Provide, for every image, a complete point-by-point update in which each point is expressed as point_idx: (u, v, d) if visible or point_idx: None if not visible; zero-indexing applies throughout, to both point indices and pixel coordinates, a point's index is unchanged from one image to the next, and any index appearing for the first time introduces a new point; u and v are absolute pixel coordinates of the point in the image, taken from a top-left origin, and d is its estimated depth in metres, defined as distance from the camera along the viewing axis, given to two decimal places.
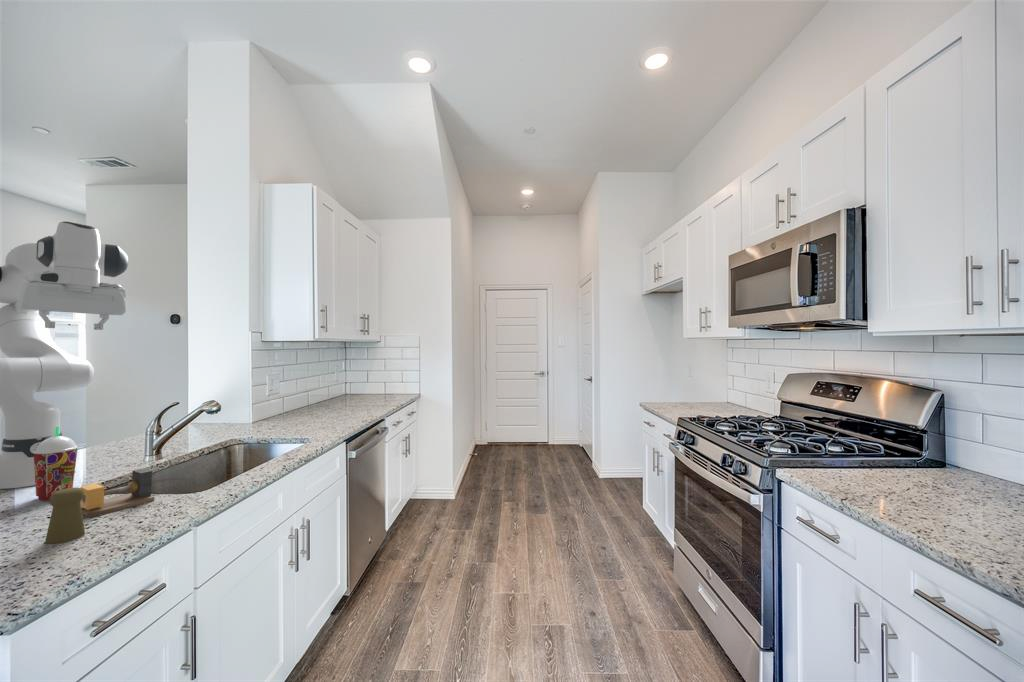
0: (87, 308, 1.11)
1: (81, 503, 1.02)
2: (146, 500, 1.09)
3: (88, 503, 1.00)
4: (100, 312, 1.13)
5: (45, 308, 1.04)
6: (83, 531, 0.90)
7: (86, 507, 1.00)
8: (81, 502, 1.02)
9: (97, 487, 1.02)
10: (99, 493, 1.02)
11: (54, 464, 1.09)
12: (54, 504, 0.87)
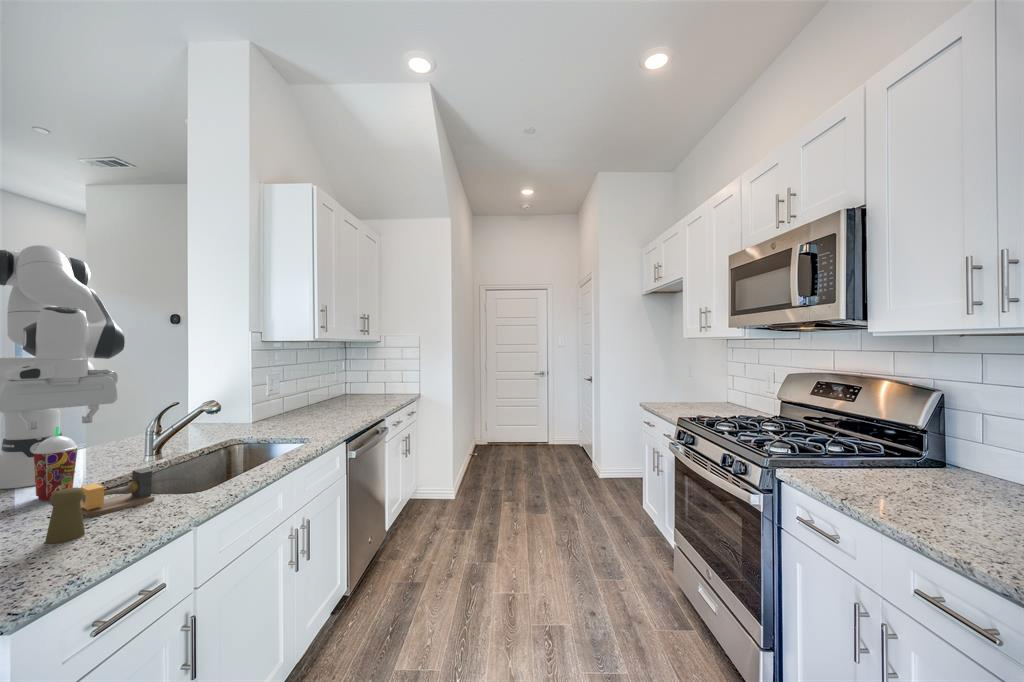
0: (74, 402, 0.99)
1: (81, 503, 1.02)
2: (146, 500, 1.09)
3: (88, 503, 1.00)
4: (89, 404, 1.02)
5: (25, 408, 0.92)
6: (83, 531, 0.90)
7: (86, 507, 1.00)
8: (81, 502, 1.02)
9: (97, 487, 1.02)
10: (99, 493, 1.02)
11: (54, 464, 1.09)
12: (54, 504, 0.87)
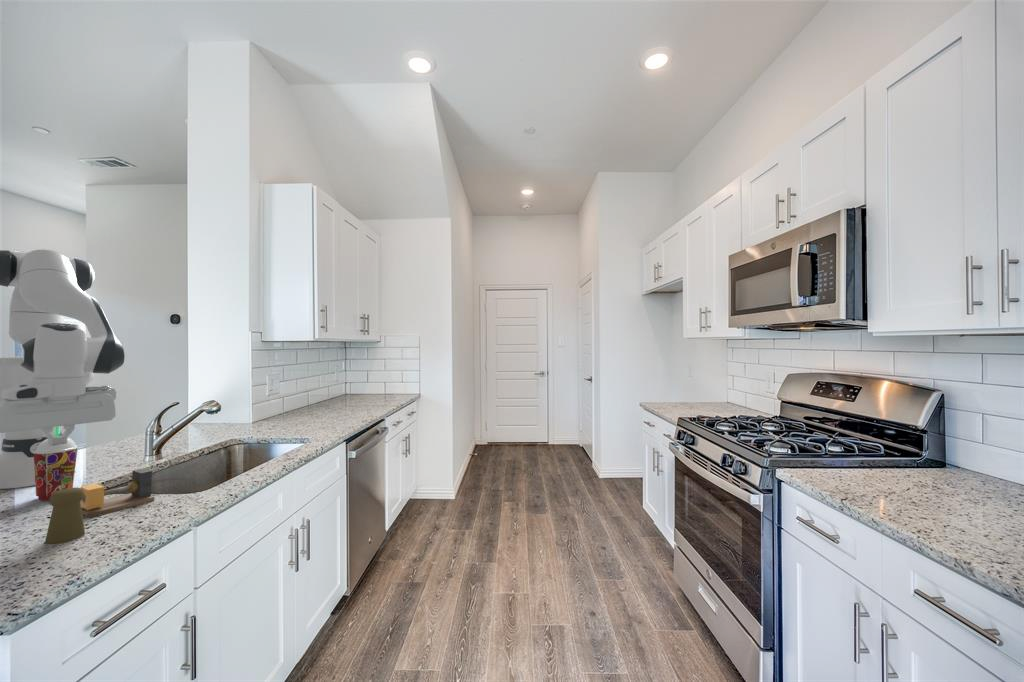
0: (71, 420, 0.98)
1: (81, 503, 1.02)
2: (146, 500, 1.09)
3: (88, 503, 1.00)
4: (86, 421, 1.00)
5: (22, 428, 0.91)
6: (83, 531, 0.90)
7: (86, 507, 1.00)
8: (81, 502, 1.02)
9: (97, 487, 1.02)
10: (99, 493, 1.02)
11: (54, 464, 1.09)
12: (54, 504, 0.87)
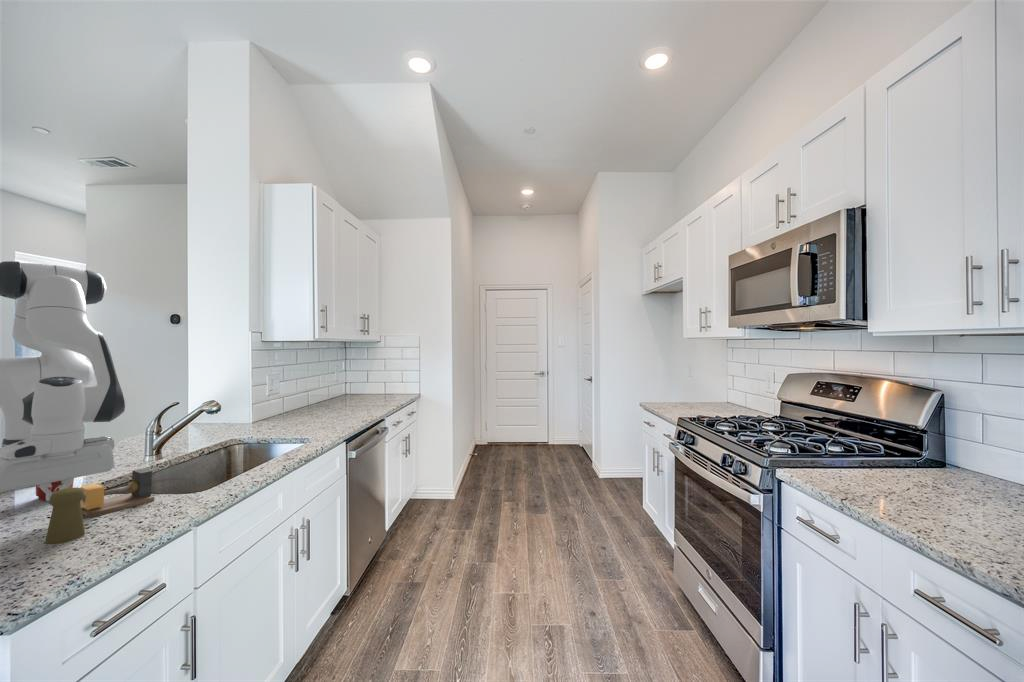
0: (70, 474, 0.98)
1: (81, 503, 1.02)
2: (146, 500, 1.09)
3: (88, 503, 1.00)
4: (85, 474, 1.00)
5: (20, 486, 0.91)
6: (83, 531, 0.90)
7: (86, 507, 1.00)
8: (81, 502, 1.02)
9: (97, 487, 1.02)
10: (99, 493, 1.02)
11: None
12: (54, 504, 0.87)
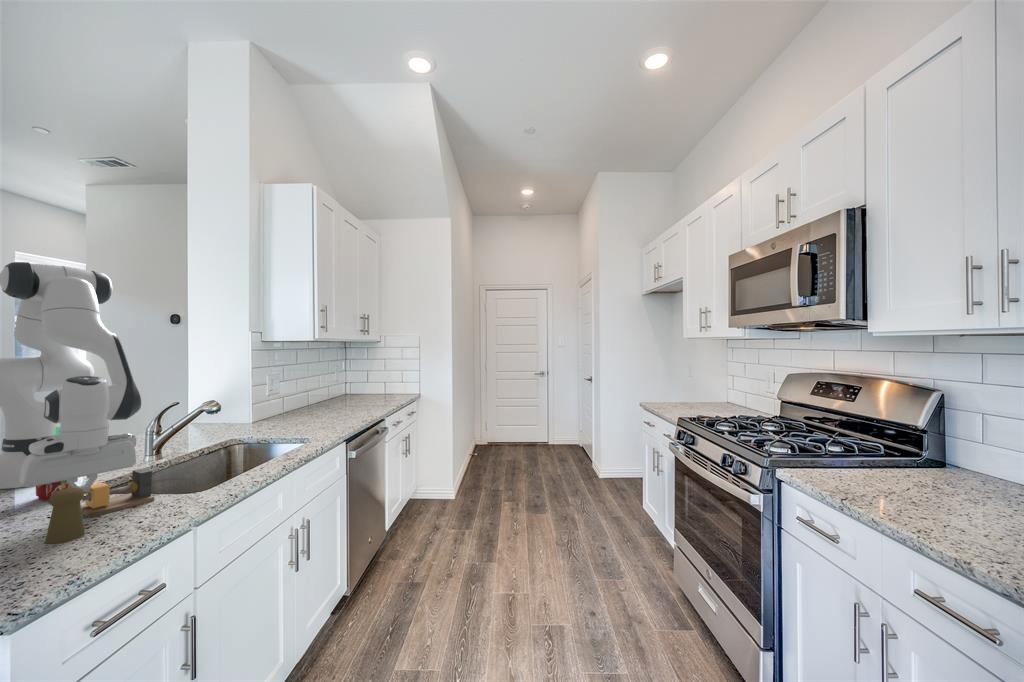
0: (95, 469, 1.02)
1: (87, 502, 1.03)
2: (146, 500, 1.09)
3: (94, 502, 1.01)
4: (109, 470, 1.04)
5: (49, 481, 0.95)
6: (83, 531, 0.90)
7: (92, 506, 1.01)
8: (87, 501, 1.03)
9: (103, 486, 1.03)
10: (104, 492, 1.03)
11: None
12: (54, 504, 0.87)
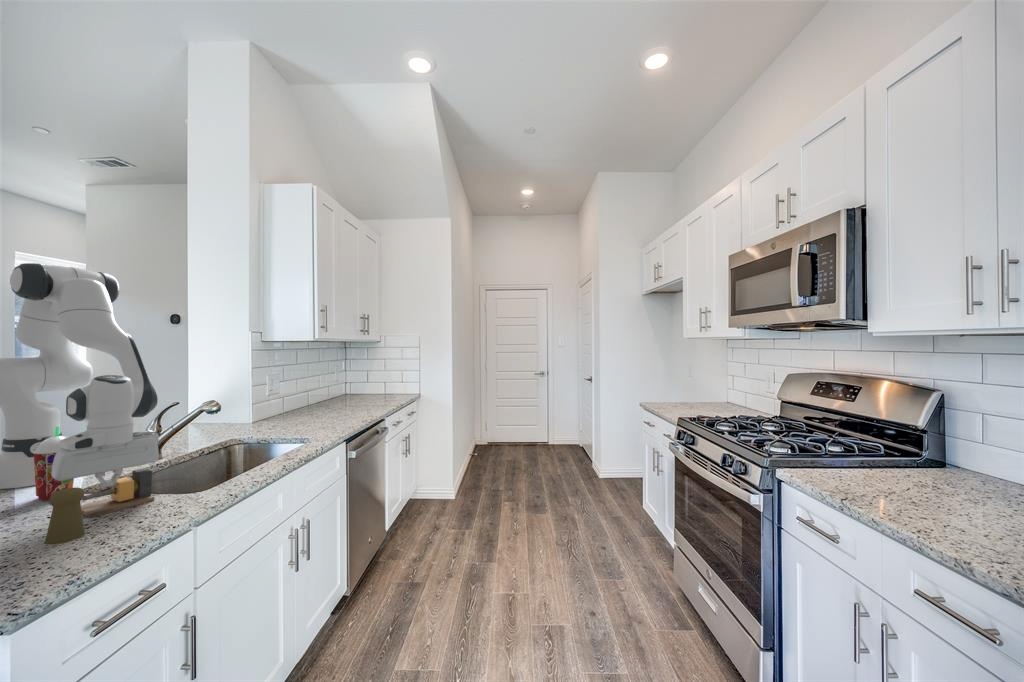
0: (121, 464, 1.06)
1: (112, 495, 1.07)
2: (146, 500, 1.09)
3: (119, 495, 1.06)
4: (133, 465, 1.09)
5: (79, 475, 0.99)
6: (83, 531, 0.90)
7: (117, 499, 1.06)
8: (112, 495, 1.07)
9: (127, 480, 1.08)
10: (129, 486, 1.08)
11: None
12: (54, 504, 0.87)
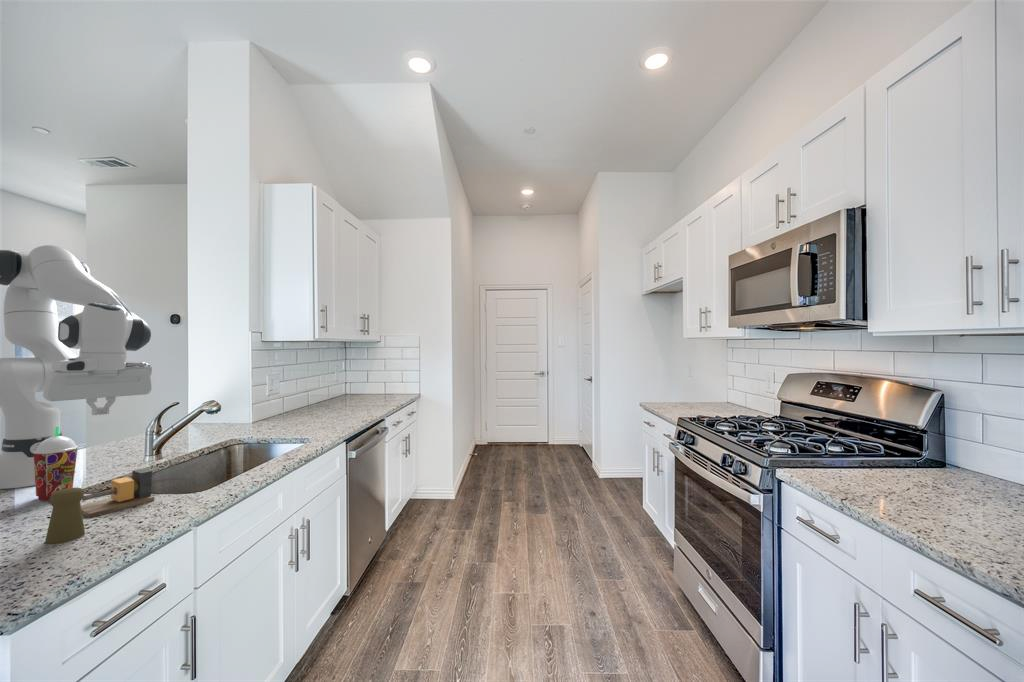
0: (113, 392, 1.06)
1: (112, 495, 1.07)
2: (146, 500, 1.09)
3: (119, 495, 1.06)
4: (126, 394, 1.09)
5: (71, 398, 0.99)
6: (83, 531, 0.90)
7: (117, 499, 1.06)
8: (112, 495, 1.07)
9: (127, 480, 1.08)
10: (129, 486, 1.08)
11: (54, 464, 1.09)
12: (54, 504, 0.87)
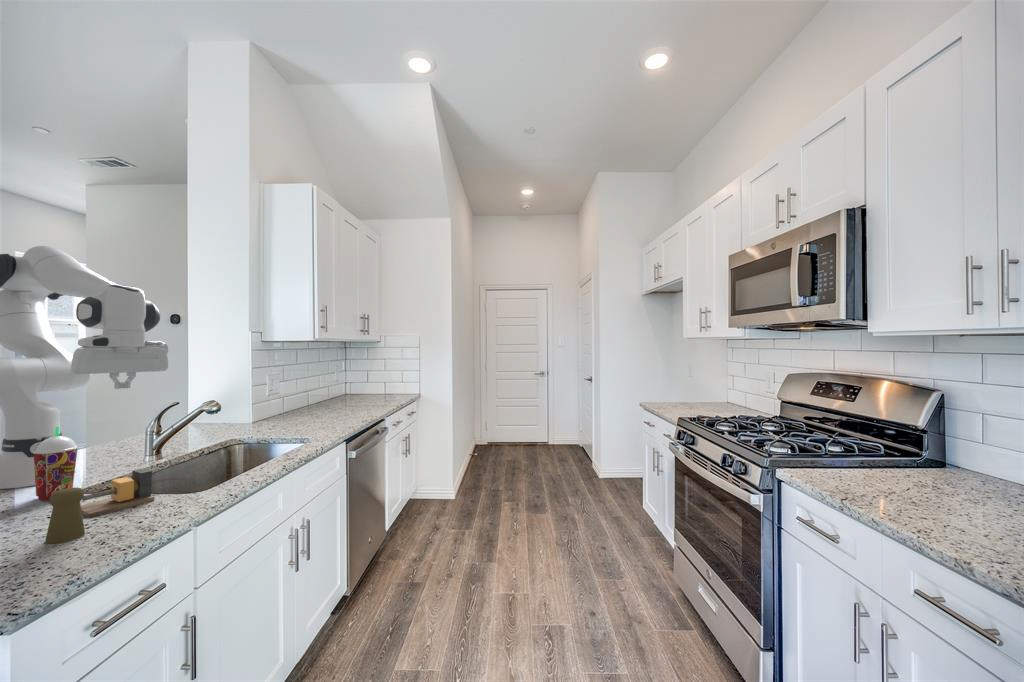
0: (134, 368, 1.14)
1: (112, 495, 1.07)
2: (146, 500, 1.09)
3: (119, 495, 1.06)
4: (145, 370, 1.17)
5: (96, 371, 1.07)
6: (83, 531, 0.90)
7: (117, 499, 1.06)
8: (112, 495, 1.07)
9: (127, 480, 1.08)
10: (129, 486, 1.08)
11: (54, 464, 1.09)
12: (54, 504, 0.87)
